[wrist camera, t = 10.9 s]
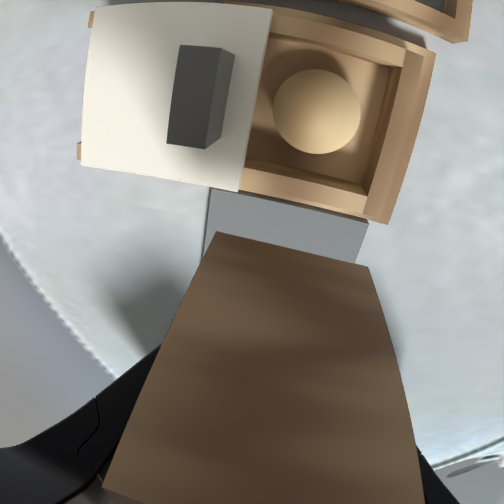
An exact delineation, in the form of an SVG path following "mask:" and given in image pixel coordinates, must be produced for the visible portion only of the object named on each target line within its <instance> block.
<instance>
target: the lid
mask: <svg viewBox="0 0 504 504" xmlns="http://www.w3.org/2000/svg"><path fill="white" fill-rule="evenodd" d="M272 17H273V11H272V9H268V8H261V7H253V6H245V5H235V4H222V3H206V2H148V3H131V4H120V5H110V6H101V7H96V9H95V14H94V20H93V25H92V31H91V37H90V43H89V50H88V58H87V66H86V75H85V85H84V97H83V111H82V134H81V166H87V167H94V168H101V169H108V170H115V171H121V172H128V173H134V174H140V175H147V176H153V177H159V178H164V179H170V180H176V181H181V182H187V183H192V184H198V185H203V186H208V187H214V188H219V189H224V190H229V191H234V192H238V191H239V189H240V186H241V180H242V174H243V169H244V163H245V157H246V152H247V146H248V141H249V135H250V130H251V124H252V119H253V113H254V108H255V103H256V98H257V92H258V87H259V82H260V77H261V71H262V66H263V61H264V56H265V51H266V46H267V41H268V36H269V31H270V26H271V21H272Z"/></svg>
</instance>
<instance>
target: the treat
mask: <svg viewBox="0 0 504 504" xmlns="http://www.w3.org/2000/svg"><path fill="white" fill-rule="evenodd" d="M360 114H361V113H360V104H359V101H358V98H357V96H356V93H355V92H354V90H353V89H352V87H351V86H350V85H349V84H348V83H347V82H346V81H345V80H344V79H343V78H341V77H340V76H338V75H336V74H334V73H332V72H329V71H325V70H319V69H310V70H304V71H301V72H298V73H296V74H294V75H292V76H291V77H289V78H288V79H287V80H285V81H284V82H283V84H282V85H281V86H280V87H279V89H278V91H277V93H276V95H275V98H274V101H273V118H274V122H275V125H276V128H277V129H278V131H279V133H280V134H281V136H282V137H283V138H284V139H285V140H286V141H287V142H288V143H289V144H290V145H292V146H293V147H295V148H297V149H299V150H301V151H304V152H307V153H312V154H324V153H329V152H333V151H335V150H338V149H339V148H341V147H343V146H344V145H345V144H347V143H348V142H349V141H350V140H351V139H352V137H353V136H354V134H355V133H356V131H357V128H358V126H359V122H360Z"/></svg>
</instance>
